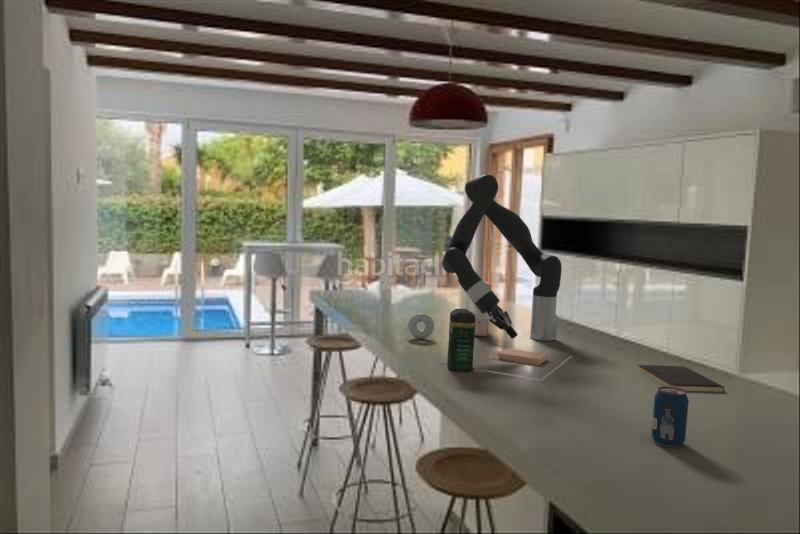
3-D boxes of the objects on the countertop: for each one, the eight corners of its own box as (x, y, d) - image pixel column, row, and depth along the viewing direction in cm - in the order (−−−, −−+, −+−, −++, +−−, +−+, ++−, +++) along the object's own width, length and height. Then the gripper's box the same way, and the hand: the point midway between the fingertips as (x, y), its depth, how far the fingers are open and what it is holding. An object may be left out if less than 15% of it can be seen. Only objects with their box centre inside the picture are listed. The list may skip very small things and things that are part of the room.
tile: (498, 353, 212) (539, 359, 206) (507, 348, 220) (547, 354, 214) (498, 358, 212) (539, 365, 206) (506, 353, 220) (547, 360, 214)
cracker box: (488, 337, 251) (491, 284, 249) (473, 336, 251) (476, 283, 249) (484, 330, 265) (487, 280, 263) (470, 329, 265) (472, 279, 263)
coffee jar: (474, 372, 196) (477, 312, 194) (448, 371, 196) (452, 311, 194) (470, 364, 206) (473, 307, 204) (445, 363, 206) (448, 306, 204)
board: (497, 353, 224) (497, 351, 224) (547, 360, 215) (548, 359, 215) (484, 359, 213) (485, 357, 213) (537, 368, 205) (538, 366, 205)
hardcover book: (670, 392, 186) (670, 384, 185) (637, 371, 208) (638, 364, 208) (724, 393, 186) (724, 386, 186) (685, 373, 209) (686, 366, 209)
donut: (432, 338, 244) (434, 312, 243) (434, 340, 241) (435, 314, 240) (406, 337, 243) (407, 311, 242) (407, 339, 240) (408, 313, 239)
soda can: (675, 437, 146) (680, 386, 145) (690, 449, 139) (695, 395, 138) (645, 436, 146) (650, 385, 144) (659, 448, 139) (663, 394, 138)
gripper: (483, 291, 211) (517, 333, 207) (497, 288, 223) (529, 327, 218) (467, 306, 214) (500, 347, 210) (482, 301, 226) (513, 340, 221)
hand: (515, 336), depth 214 cm, fingers closed
